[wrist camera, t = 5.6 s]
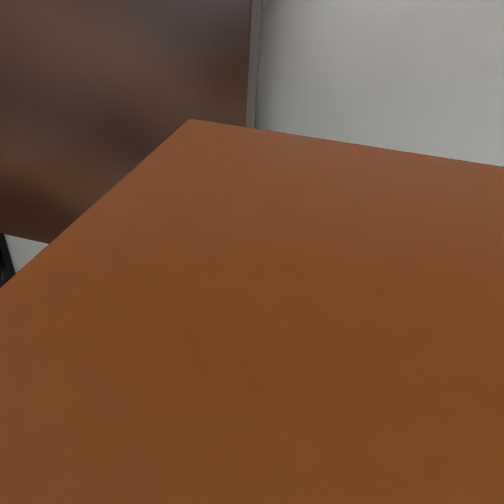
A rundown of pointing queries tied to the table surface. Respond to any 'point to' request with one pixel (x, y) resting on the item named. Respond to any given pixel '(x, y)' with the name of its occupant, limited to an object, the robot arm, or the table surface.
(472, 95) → the table surface
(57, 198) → the shelf
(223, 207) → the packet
